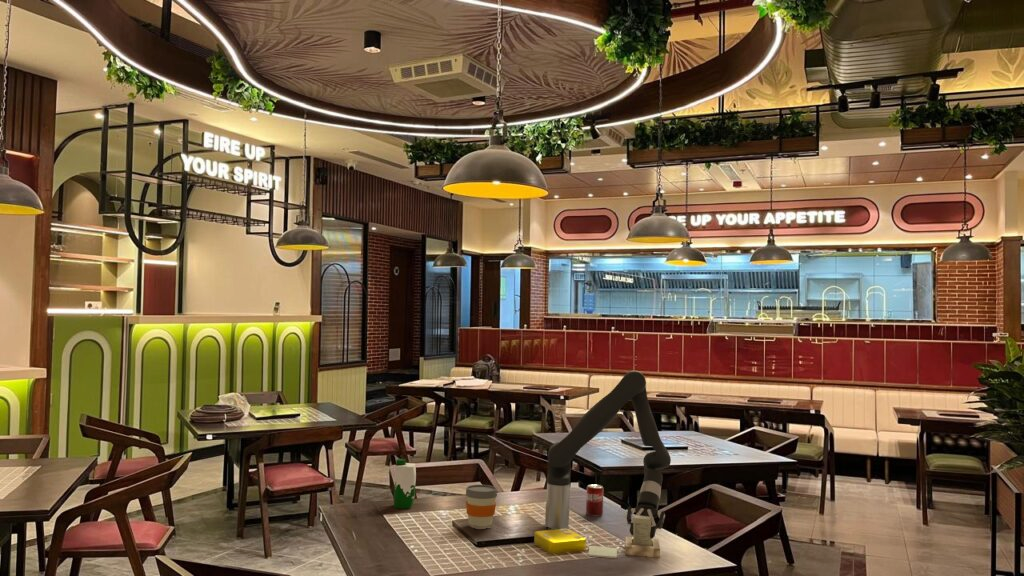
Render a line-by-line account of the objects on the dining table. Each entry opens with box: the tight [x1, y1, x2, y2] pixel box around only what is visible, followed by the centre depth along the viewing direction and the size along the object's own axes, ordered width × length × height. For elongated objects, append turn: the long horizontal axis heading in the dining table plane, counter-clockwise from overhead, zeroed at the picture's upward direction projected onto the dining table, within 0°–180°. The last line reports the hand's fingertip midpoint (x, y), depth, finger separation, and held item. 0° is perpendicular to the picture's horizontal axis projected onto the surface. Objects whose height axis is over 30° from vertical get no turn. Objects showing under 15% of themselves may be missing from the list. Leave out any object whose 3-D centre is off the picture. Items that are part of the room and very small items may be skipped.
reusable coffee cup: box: [465, 484, 498, 526], centre depth 283 cm, size 13×13×15 cm
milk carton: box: [393, 458, 417, 510], centre depth 310 cm, size 9×9×20 cm
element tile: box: [533, 528, 587, 554], centre depth 261 cm, size 15×15×5 cm
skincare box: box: [632, 514, 652, 546], centre depth 259 cm, size 6×4×12 cm
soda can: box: [585, 484, 605, 517], centre depth 308 cm, size 7×7×12 cm
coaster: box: [587, 545, 618, 559], centre depth 254 cm, size 10×10×1 cm
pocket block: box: [624, 536, 661, 559], centre depth 258 cm, size 12×12×3 cm
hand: (641, 535), depth 257 cm, fingers closed on skincare box, 6 cm apart
